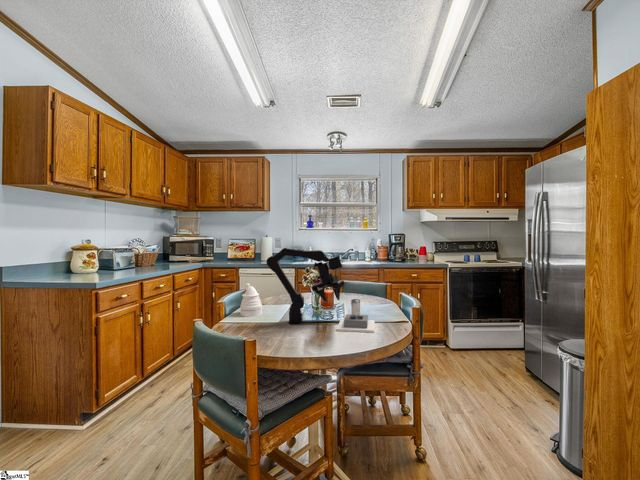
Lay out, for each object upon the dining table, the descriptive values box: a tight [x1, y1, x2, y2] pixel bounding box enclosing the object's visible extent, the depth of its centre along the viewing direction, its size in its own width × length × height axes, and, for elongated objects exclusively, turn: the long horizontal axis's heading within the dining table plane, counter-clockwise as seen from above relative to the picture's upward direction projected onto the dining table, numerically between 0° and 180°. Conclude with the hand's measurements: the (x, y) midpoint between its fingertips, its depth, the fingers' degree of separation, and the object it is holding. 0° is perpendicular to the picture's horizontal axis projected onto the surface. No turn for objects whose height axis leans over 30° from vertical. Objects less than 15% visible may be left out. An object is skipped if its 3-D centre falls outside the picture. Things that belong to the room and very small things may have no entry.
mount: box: [336, 313, 376, 333], centre depth 166 cm, size 18×18×4 cm
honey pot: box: [239, 283, 263, 318], centre depth 195 cm, size 13×13×18 cm
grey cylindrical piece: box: [350, 298, 361, 320], centre depth 166 cm, size 4×4×12 cm
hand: (332, 300), depth 175 cm, fingers open, 9 cm apart
